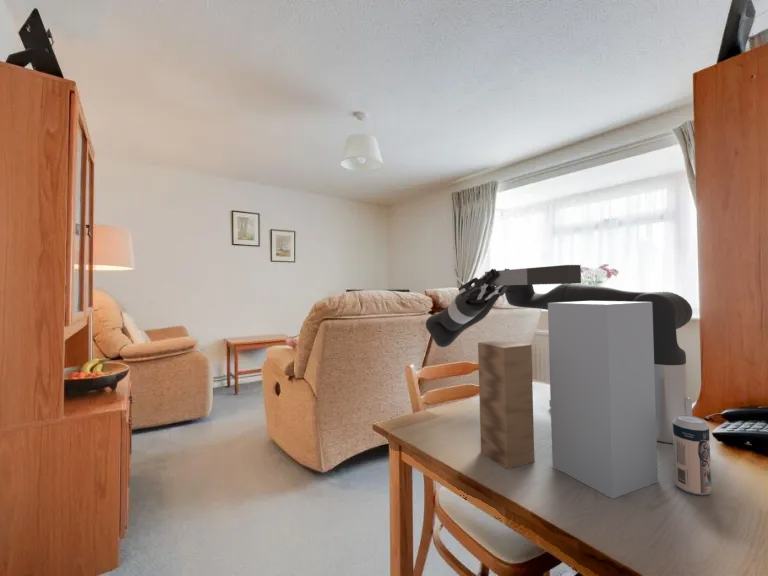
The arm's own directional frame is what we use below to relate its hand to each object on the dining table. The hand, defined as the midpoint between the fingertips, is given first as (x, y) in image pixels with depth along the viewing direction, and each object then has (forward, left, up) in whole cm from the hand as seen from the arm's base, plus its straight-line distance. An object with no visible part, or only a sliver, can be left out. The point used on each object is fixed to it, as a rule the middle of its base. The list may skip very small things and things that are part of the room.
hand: (502, 271), depth 85 cm
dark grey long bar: (-5, +6, -3) cm, 8 cm away
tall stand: (-16, +14, -39) cm, 45 cm away
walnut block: (0, +11, -39) cm, 41 cm away
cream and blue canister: (-29, +16, -39) cm, 52 cm away
